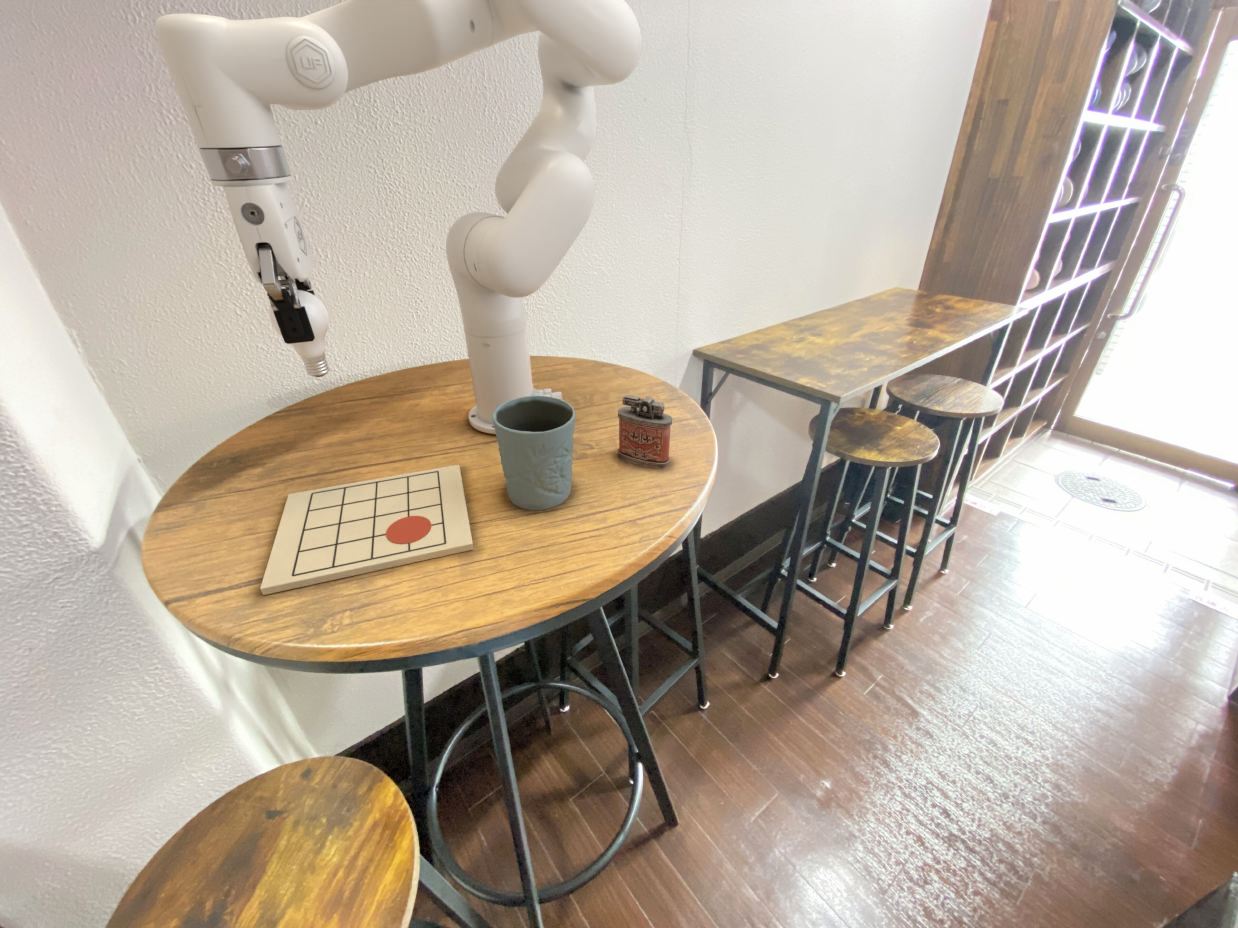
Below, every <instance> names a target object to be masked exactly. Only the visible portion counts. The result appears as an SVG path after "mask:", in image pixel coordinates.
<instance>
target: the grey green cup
mask: <svg viewBox="0 0 1238 928" xmlns="http://www.w3.org/2000/svg"><path fill="white" fill-rule="evenodd" d="M492 419H493V423H494V428H495V433H496V434H495V436H496V442H497V446H498V453H499V457H500V464H501V467H502V468H501V469H502V472H503V478H505V488H506V493H507V497H508V499H509V500H510V502H511V503H512V504H513V505H514V506H516V507H518V508H520V509H524V510H528V511H542V510H543V511H544V510H548V509H552V508H555V507H557V506H559V505H561V504H562V503H564V502H565V501H566V500H567V499H568V498H569V496H570V494H571V491H572V476H573V470H572V469H573V455H574V454H573V453H574V441H575V439H574V433H575V423H576V411H575V409H574V407H573V406H572V405H571V404H570V402H567V401H566V400H564V399H563V400H560V399H557V398H553V397H547V396H526V397H521V398H516V399H513V400H510V401H507V402H505V403H503V404H501V405H500V406H499V407H497V408H496V409H495V411H494V412H493V415H492Z"/></svg>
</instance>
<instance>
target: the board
mask: <svg viewBox="0 0 1238 928" xmlns="http://www.w3.org/2000/svg"><path fill="white" fill-rule="evenodd" d="M461 471H462V470H461V466H460V464H454V465H447V466H443V467H437V468H436V467H435V468H430V469H425V470H419V471H413V472H408V473H401V474H396V475H390V476H385V477H384V476H383V477H379V478H372V479H367V480H361V481H355V482H350V483H344V484H337V485H333V486H326V487H320V488H314V489H310V490H303V491H298V492H292V493H288V495H287V498H286V502H285V503H284V507H283V511H282V515H281V518H280V521H279V524H278V528H277V531H276V535H275V538H274V541H273V545H272V548H271V551H270V554H269V558H268V561H267V564H266V568H265V571H264V574H263V577H262V581H261V584H260V587H259V589H260V592H261V594H262V595H263V596H266V595H267V596H268V595H271V594H275V593H279V592H280V593H281V592H285V591H290V590H294V589H298V588H304V587H308V586H312V585H316V584H321V583H325V582H331V581H336V580H339V579H345V578H349V577H353V576H358V575H363V574H367V573H372V572H377V571H382V570H386V569H391V568H396V567H399V566H405V565H409V564H414V563H417V562H423V561H427V560H433V559H437V558H441V557H446V556H451V555H455V554H459V553H465V552H470V551H473V550H474V542H473V541H474V540H473V536H472V531H471V524H470V518H469V513H468V507H467V500H466V495H465V489H464V484H463V478H462V472H461Z"/></svg>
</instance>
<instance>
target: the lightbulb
mask: <svg viewBox="0 0 1238 928" xmlns="http://www.w3.org/2000/svg"><path fill="white" fill-rule="evenodd" d="M287 291H289V294H290V290H287ZM297 291H298V295H299V299H300V304H301V307H302V306H305V309H306V312H307V315H308V318H309V321H310V324H311V327H312V330H313V333H314V336H315V338H314V340H313V341H310V342H301V343H292V344H291V346H292V347H293V349H294V350H295V352H296V353H297V355H298V356H300V357H301V358H300V359H301V360H302V362H303V366H304V368H305V372H306V374H307V375H308V376H310V377H314V378H322V377H324V376H325V375H327V373H329V372H330V370H331V368H330V366H329V364H328V360H327V357H326V353H325V352H326V342H325V341H326V340H325V339H326V336H327V333H328V329H329V327H330V315H329V311H328V309H327V307H326V305H325V304H324V302H323V300H321V299H320V298H319V297H318V296H316V294H315V295H313V294H311V293H309V292H307V291H303V290H297ZM290 295H291V294H290ZM268 319H269V321H270V324H271V326H272V327H273V329H274V330H275V332H276V333H277V334H278V335H279V336H280V337H282V334H281V331H280V328H279V326H278V323H277V320H276V318H275V315H274V312H273V309H272V307H271V304H269V306H268Z"/></svg>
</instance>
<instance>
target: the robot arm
mask: <svg viewBox="0 0 1238 928" xmlns="http://www.w3.org/2000/svg"><path fill="white" fill-rule="evenodd" d="M154 32H155V33H154V34H155V37H156V39H157V42H158V43H157V44H158V45H159V49H160V51H161V54H162V56H163V59H164V61H165V64H166V67H167V70H168V72H169V74H170V77H171V80H172V83H173V84H174V87H175V90H176V94H177V95H178V98H179V101H180V103H181V106H182V109H183V111H184V114H185V117H186V120H187V121H188V124H189V127H190V129H191V130H190V131H191V133H192V135H193V137H194V140H195V143H196V144H197V148H198V150H199V154H200V156H201V158H202V161H203V163H204V166H205V169H206V171H207V174H208V177H209V179H210V182H211V185H212V186H214V187H223V191H224V194H225V198H226V201H227V205H228V209H229V210H230V213H231V217H232V221H233V224H234V227H235V229H236V233H237V236H238V238H239V241H240V244H241V247H242V250H243V253H244V255H245V258H246V261H247V263H248V266H249V268H250V271H251V272H252V275H253V277H254V279H255V281H256V282H257V283H259V284H261V285H262V286H263V289H264V290H265V291H266V296H267V297H268V299H269V303H270V304H271V307H272V309H273V312H274V315H275V318H276V320H277V323H278V326H279V328H280V331H281V334H282V336H281V337H282V340H283V341H284V343H285V344H287V345H292V343H301V342H310V341H313V340H314V338H315V336H314V333H313V330H312V327H311V324H310V321H309V318H308V315H307V312H306V309H305V306H302V307H301V304H300V299H299V295H298V291H297V290H303V291H307V292H309V293H311V294H313V295H315V296H316V294H315V291H314V289H313V288H312V287H313V286H312V284H311V280H310V278H309V276H310V274H311V273H312V271H313V270H314V268H315V266H316V259H315V257H314V253H313V251H312V248H311V245H310V241H309V240H308V237H307V234H306V231H305V229H304V228H305V227H304V225H303V222H302V220H301V217H300V214H299V212H298V208H297V205H296V204H295V201H294V198H293V196H292V193H291V190H290V189H289V186H288V184H287V183H290V182H293V181H294V179H293V176H292V173H291V170H290V169H291V168H290V166H289V164H288V159H287V156H286V153H285V150H284V146H283V143H282V139H281V137H280V133H279V130H278V127H277V124H276V120H275V117H274V114H273V110H272V107H271V105H279V106H281V107H284V108H286V109H289V110H293V111H316V110H323V109H327V108H329V107H332V106H333V105H335V104H336V103H338V102H339V101H340V100H341V98H342V97H344V94H346V93H349V92H352V91H354V90H357V89H360V88H362V87H365V86H368V85H371V84H375V83H378V82H381V81H384V80H388V79H392V78H399V77H405V76H412V75H417V74H420V73H425V72H427V71H431V70H435V69H438V68H440V67H442V66H446V65H447V64H449V63H452V62H455V61H457V60H459V59H462V58H464V57H467V56H470V55H472V54H474V53H476V52H479V51H482V50H484V49H487V48H490V47H493V46H494V45H497V44H499V43H500V44H501V43H503V42H504V41H507V40H509V39H513V38H515V37H518V36H520V35H524V34H530V33H533V32H540V33H539V37H538V43H537V56H538V62H539V63H538V64H539V68H540V74H541V79H542V101H541V105H540V108H539V110H538V112H537V113H536V115H535V117H534V119H533V120H532V122H531V123H530V125H529V127H528V128H527V130H525V133H524V134H523V136H521V138H520V140H519V141H518V142H517V144H516V145H515V147H514V148H513V150H512V151H511V153H510V154H509V156H508V157H507V158H506V160H505V161H504V162H503V164H502V165H501V167H500V169H499V171H498V173H497V175H496V179H495V183H494V184H495V185H494V193H495V197H496V200H497V204H499V206H500V208H501V210H503V212H504V213H506V214H507V215H506V216H501V215H497V214H493V213H489V212H483V211H474V212H468V213H465V214H464V215H462V216H460V217H458V218H457V219H456V220H455V221H454V222H453V224H452V225H451V227H450V228H449V230H448V233H447V236H446V241H445V251H446V252H445V253H446V259H447V264H448V269H449V271H450V274H451V278H452V281H453V285H454V287H455V291H456V295H457V298H458V303H459V308H460V314H461V319H462V325H463V332H464V338H465V345H466V350H467V356H468V357H467V358H468V362H469V363H468V364H469V369H470V374H471V381H472V386H473V393H474V399H475V405H474V406H473V407H472V408H471V409H470V410H469V412H468V417H467V418H468V421H469V424H470V426H471V427H472V428H473V429H475V430H477V431H479V432H482V433H485V434H491V435H496V433H495V428H494V423H493V419H492V415H493V412H494V411H495V409H496V408H497V407H499V406H500V405H501V404H503V403H505V402H507V401H510V400H513V399H516V398H521V397H526V396H547V397H553V398H557V399H560V400H563V401H564V399H563V394H562V391H554V392H553V391H552V388H550V387H548V388H543V389H537V388H535V387H534V384H533V374H532V373H533V372H532V363H531V355H530V354H531V353H530V344H529V333H528V321H527V311H526V305H525V301H524V298H525V297H528V296H531V295H532V294H534V293H536V292H537V291H538V290H539V289H540V288H541V287H543V286H544V284H545V283H546V282H547V281H548V280H549V278H550V277H551V276H552V274H553V273H554V271H555V270H556V269H557V267H558V266H559V265H560V263H561V261H562V260H563V258H564V257H565V256H566V254H567V253H568V252H569V250H570V249H571V247H572V246H573V244H574V242H575V241H576V240H577V238H578V237H579V235H580V234H581V232H582V231H583V229H584V228H585V226H586V225H587V222H588V221H589V218H590V216H591V214H592V210H593V206H594V203H595V202H594V201H595V182H594V179H593V175H592V173H591V171H590V169H589V167H588V166H587V164H586V163H585V160H586V158H587V156H588V155H589V153H590V152H591V150H592V148H593V146H594V143H595V140H596V137H597V129H598V127H597V126H598V122H597V121H598V120H597V107H596V99H595V98H596V97H595V90H594V87H596V86H609V85H616V84H618V83H621V82H623V81H625V80H626V79H628V78H629V77H630V76H631V75H632V74H633V73H634V71H635V70H636V68H637V66H638V64H639V61H640V58H641V54H642V44H643V40H642V32H641V27H640V25H639V22H638V19H637V17H636V15H635V12H634V11H633V9H632V8H631V7H630V6H629V4H628V3H627V2H626V0H344V1H342V2H339V3H336V4H334V5H332V6H329V7H326V8H323V9H321V10H318V11H315V12H313V13H309V14H307V15H304V16H301V17H297V16H277V17H276V16H275V17H268V18H266V17H265V18H254V19H229V18H227V17H224V16H218V15H212V14H204V13H170V14H164V15H161V16H159V17H158V18H157V20H155V24H154ZM287 290H290V294H291V295H290V294H289V291H287ZM270 304H269V305H270Z"/></svg>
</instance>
